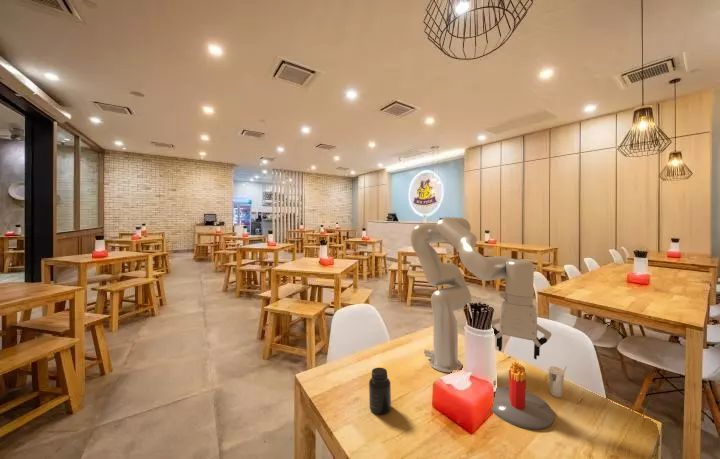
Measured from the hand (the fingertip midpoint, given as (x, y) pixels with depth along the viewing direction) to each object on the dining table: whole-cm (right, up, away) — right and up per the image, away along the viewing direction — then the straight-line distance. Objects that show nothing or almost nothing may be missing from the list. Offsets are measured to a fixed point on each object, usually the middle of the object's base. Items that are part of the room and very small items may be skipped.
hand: (517, 353), depth 88 cm
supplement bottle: (-43, -18, 0) cm, 47 cm away
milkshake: (+18, -17, +7) cm, 25 cm away
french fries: (0, -16, 0) cm, 16 cm away
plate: (0, -17, 0) cm, 17 cm away
